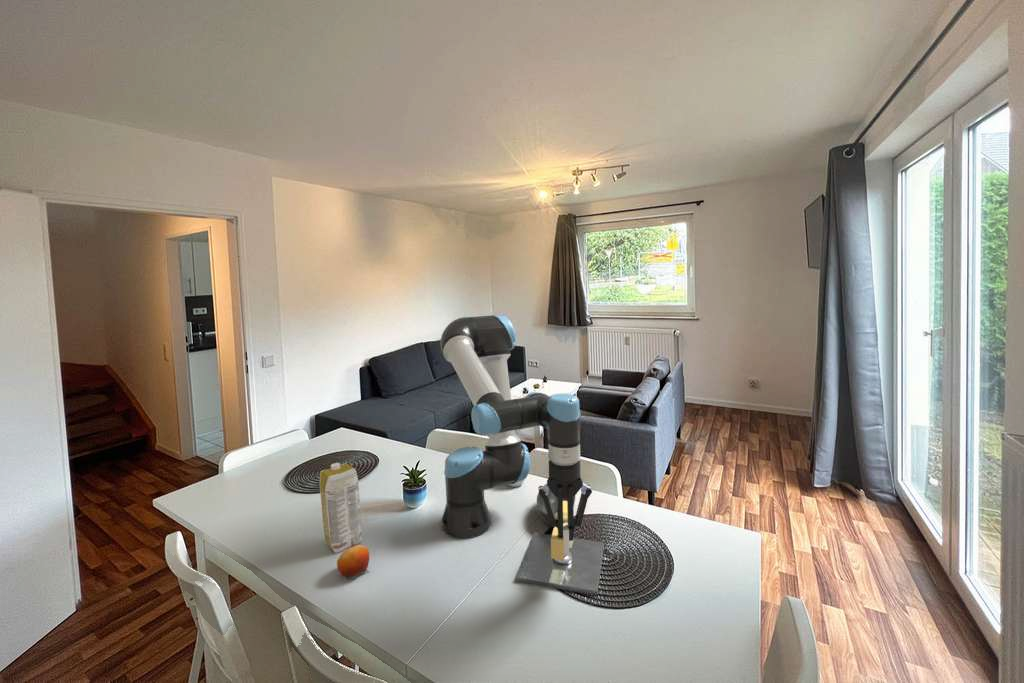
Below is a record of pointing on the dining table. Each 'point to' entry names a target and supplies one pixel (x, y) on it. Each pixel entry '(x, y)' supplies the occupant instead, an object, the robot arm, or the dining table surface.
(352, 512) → the juice carton
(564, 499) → the bowl
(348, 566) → the fruit
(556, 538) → the bar
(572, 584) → the base
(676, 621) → the dining table surface
